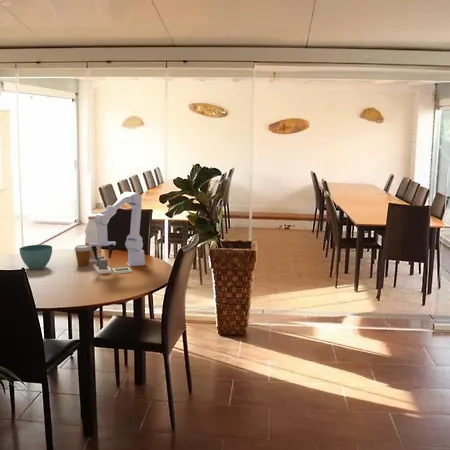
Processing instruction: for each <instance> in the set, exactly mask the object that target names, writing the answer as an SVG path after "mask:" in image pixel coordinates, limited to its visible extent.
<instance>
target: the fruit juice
mask: <svg viewBox="0 0 450 450" xmlns="http://www.w3.org/2000/svg"><path fill="white" fill-rule="evenodd" d="M95 216H96V215H91V216H90V215H89V216H87V219H88V221H87V224H86V227H85V229H84V234H85V237H84V238H85V239H84V242H85V243H84V245H89V243H96V242H97V226H96V223H95V221H94V219H95ZM90 248H91V247H90ZM96 248H97V256H102V246H97V247H96ZM89 263H96V259H95V255H94V252H93V250H92V248H91V250H90V258H89Z"/></svg>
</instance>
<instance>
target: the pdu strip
mask: <svg viewBox="0 0 450 450" xmlns="http://www.w3.org/2000/svg"><path fill="white" fill-rule="evenodd" d="M92 267H93V269H94V270H95V271H96V273H97V274H99V275H100V274H111V273H112V268H111V267H109V266H108V265H107V267H108V269H101V270H99V266H98V267H97V265H96V263H94V264H93V266H92Z"/></svg>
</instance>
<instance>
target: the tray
mask: <svg viewBox="0 0 450 450" xmlns="http://www.w3.org/2000/svg"><path fill="white" fill-rule="evenodd" d="M111 271H112V272H113V273H114V274H116V275H117V274H118V275H119V274H128V273H133V271H132V269H131V268H130V266H123V267H114V268H111Z"/></svg>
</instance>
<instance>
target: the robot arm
mask: <svg viewBox="0 0 450 450" xmlns="http://www.w3.org/2000/svg"><path fill="white" fill-rule="evenodd" d="M125 204H126V205H127V204H128V205H129V206H130V208H131V217H130V230H129V231H130V232H129V234H128V235H127V236H126V241H125V243H124V246H125V248H126V249H127V256H128V258H127V262H126V265H128V267H134V266H135V267H136V266H145V264H146V263H145V260H146V259H145V250H143V246H144V243H143V237H142V236H141V234H140V230H141V229H140V228H141V218H142V207H143V206H142V195H141V194H140V193H139V192H134V191H133V192H132V191H124V192H123V193H122V194H121V195H120V197H119V198H118V199H117V200H116V202H115V203H113V205H107V206H106V208H104V210H102V211H101V212H100V213H97V214H96V215H94V216H95V219H94V221H95V223H96V226H97V242H96V243H89V247H91V248H92V250H93V252H94V255H95V259H96V260H97V248H96V247H97V246H101V247H106V246H107V248H108V258H109V259H111V258H112V255H113V254H112V253H113V251H114V249H115V246H116V243H117V242H116V241H109V240H108V224H109V222H110V219H111V218H112V217H113V216H114V215H116V214H117V210H118V209H120V208H121V207H123V206H124V205H125Z"/></svg>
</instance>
